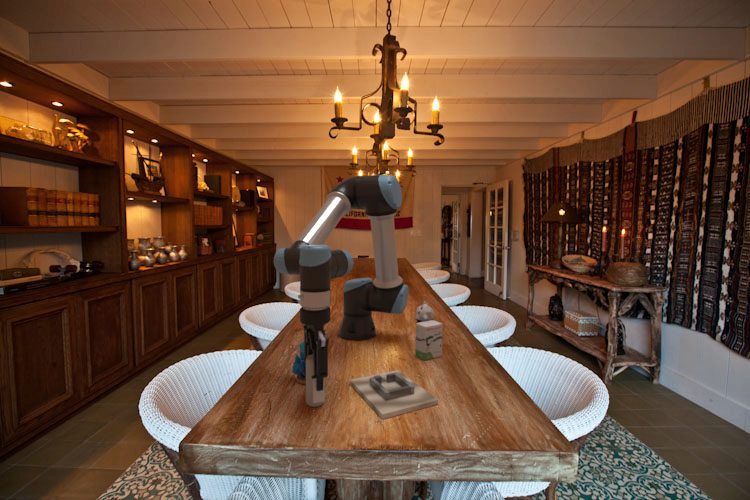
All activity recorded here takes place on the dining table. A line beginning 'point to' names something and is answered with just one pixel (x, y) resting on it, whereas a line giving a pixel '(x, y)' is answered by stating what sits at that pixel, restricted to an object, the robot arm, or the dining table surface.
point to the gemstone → (300, 366)
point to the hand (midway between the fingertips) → (315, 396)
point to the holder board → (392, 393)
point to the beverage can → (311, 383)
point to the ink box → (428, 340)
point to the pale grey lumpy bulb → (424, 312)
